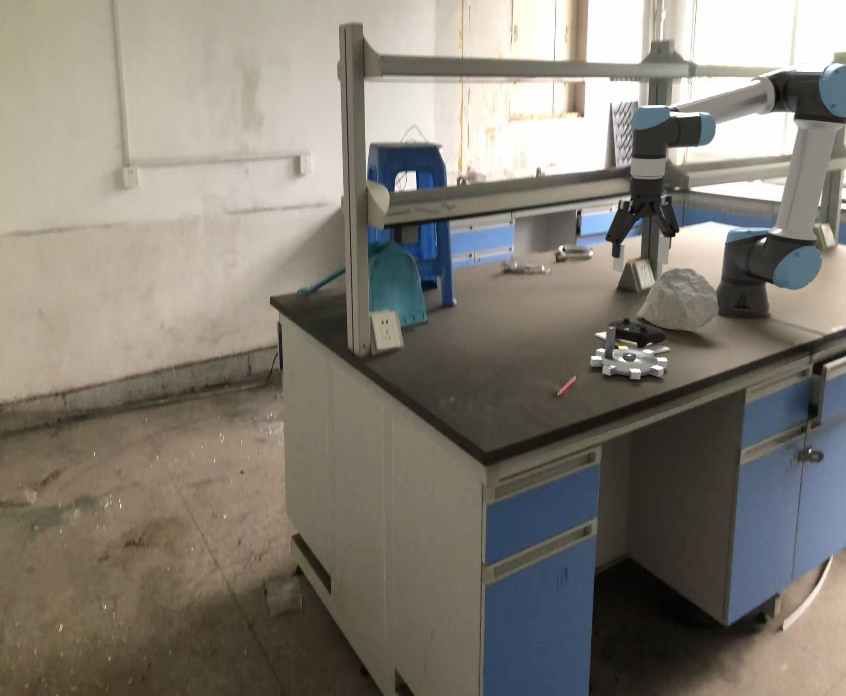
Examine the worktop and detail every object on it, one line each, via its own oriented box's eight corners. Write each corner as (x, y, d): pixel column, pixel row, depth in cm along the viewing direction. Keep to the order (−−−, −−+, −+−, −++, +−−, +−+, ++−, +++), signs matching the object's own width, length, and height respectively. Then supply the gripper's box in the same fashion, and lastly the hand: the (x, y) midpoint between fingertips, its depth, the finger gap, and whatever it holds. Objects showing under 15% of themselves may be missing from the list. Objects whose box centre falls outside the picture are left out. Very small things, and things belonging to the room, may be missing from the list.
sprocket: (587, 351, 186) (589, 316, 183) (659, 354, 184) (663, 318, 182) (594, 378, 170) (597, 339, 167) (673, 381, 169) (678, 342, 166)
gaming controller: (670, 323, 192) (654, 326, 184) (665, 348, 193) (649, 351, 185) (616, 312, 200) (599, 314, 192) (612, 336, 201) (595, 339, 193)
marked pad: (622, 330, 203) (623, 328, 202) (669, 350, 188) (670, 348, 188) (594, 335, 199) (594, 333, 199) (640, 356, 185) (640, 354, 184)
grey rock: (725, 335, 199) (733, 278, 194) (689, 344, 193) (696, 285, 187) (658, 313, 217) (664, 259, 212) (622, 320, 211) (627, 265, 206)
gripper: (677, 170, 188) (669, 257, 196) (592, 179, 178) (588, 270, 185) (700, 173, 182) (691, 263, 189) (614, 183, 172) (608, 277, 179)
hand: (640, 267), depth 187 cm, fingers open, 13 cm apart
